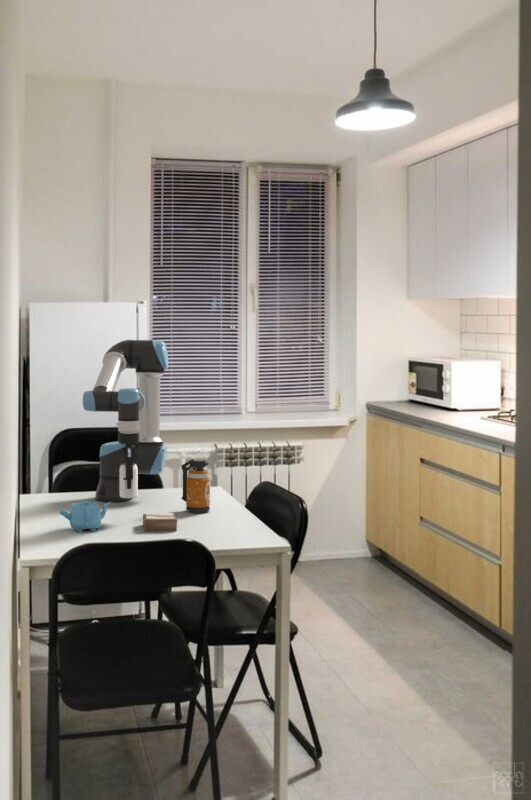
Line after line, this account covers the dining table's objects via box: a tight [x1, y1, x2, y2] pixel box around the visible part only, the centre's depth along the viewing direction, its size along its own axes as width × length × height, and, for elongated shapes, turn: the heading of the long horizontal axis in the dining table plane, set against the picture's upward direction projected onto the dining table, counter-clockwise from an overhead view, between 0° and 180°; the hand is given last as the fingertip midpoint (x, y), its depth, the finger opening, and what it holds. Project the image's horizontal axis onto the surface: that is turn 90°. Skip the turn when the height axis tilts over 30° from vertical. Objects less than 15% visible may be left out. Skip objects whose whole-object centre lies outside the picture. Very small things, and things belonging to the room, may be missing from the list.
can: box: [120, 463, 139, 499], centre depth 324 cm, size 6×6×12 cm
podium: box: [142, 512, 178, 533], centre depth 316 cm, size 11×11×4 cm
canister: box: [180, 458, 211, 514], centre depth 345 cm, size 9×11×20 cm
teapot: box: [58, 500, 113, 533], centre depth 312 cm, size 18×14×10 cm
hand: (128, 495), depth 325 cm, fingers closed on can, 6 cm apart
